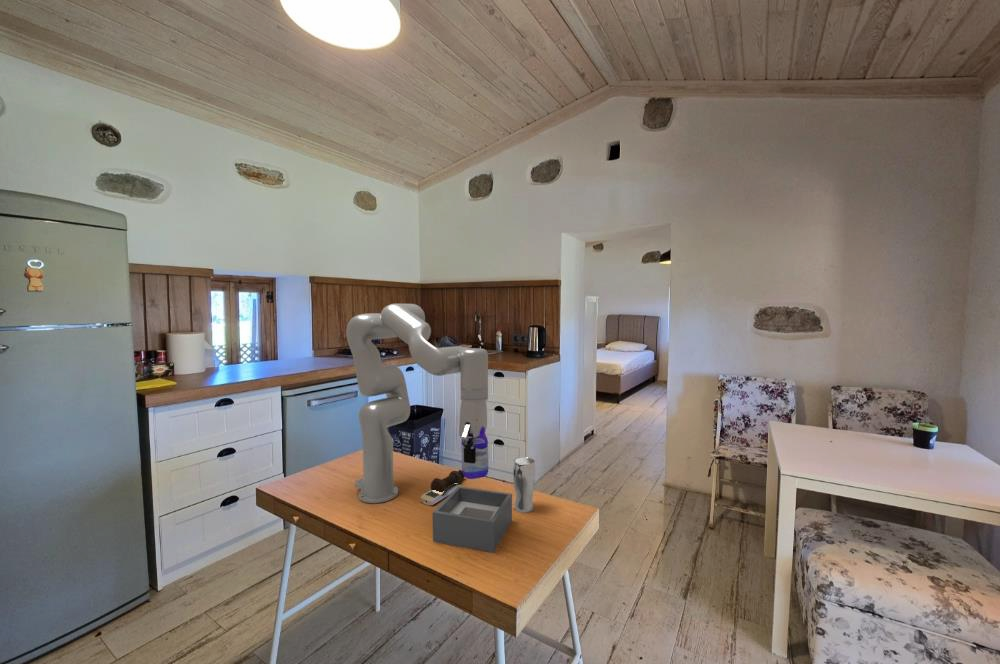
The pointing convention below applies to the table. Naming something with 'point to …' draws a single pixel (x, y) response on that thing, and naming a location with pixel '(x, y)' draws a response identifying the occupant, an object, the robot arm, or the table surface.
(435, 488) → the bolt
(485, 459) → the bottle
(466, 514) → the bore box
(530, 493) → the beer glass
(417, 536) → the table surface
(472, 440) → the robot arm
